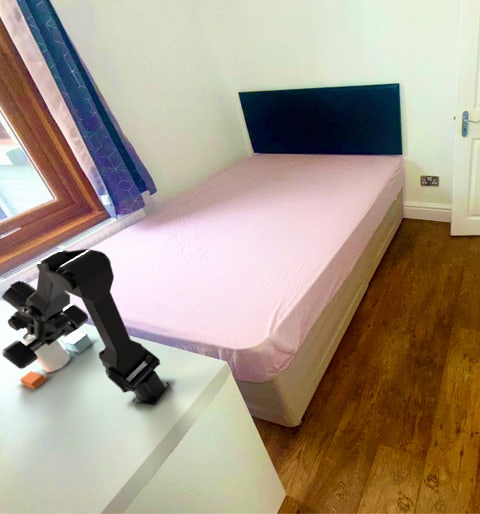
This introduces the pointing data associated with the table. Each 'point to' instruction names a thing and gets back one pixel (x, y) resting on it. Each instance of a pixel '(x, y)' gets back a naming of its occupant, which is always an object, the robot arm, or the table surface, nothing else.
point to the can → (49, 354)
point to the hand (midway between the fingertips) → (48, 346)
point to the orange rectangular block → (33, 379)
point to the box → (77, 341)
